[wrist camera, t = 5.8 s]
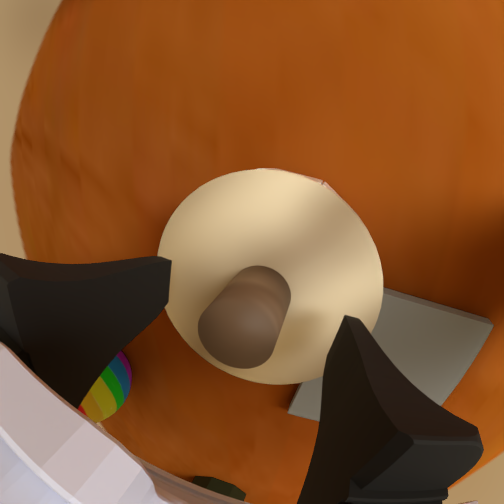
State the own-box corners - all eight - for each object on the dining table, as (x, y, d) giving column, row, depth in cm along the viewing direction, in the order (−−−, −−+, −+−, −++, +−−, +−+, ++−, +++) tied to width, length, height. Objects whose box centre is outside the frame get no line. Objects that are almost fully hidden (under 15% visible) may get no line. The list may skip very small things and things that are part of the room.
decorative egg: (96, 310, 24) (20, 362, 14) (154, 372, 24) (92, 442, 14) (78, 345, 27) (20, 390, 18) (126, 396, 27) (76, 451, 18)
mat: (488, 318, 14) (493, 325, 13) (412, 428, 18) (414, 436, 17) (343, 275, 16) (344, 281, 15) (289, 404, 20) (287, 413, 19)
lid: (425, 262, 11) (462, 306, 7) (291, 401, 15) (276, 458, 11) (224, 125, 12) (174, 109, 8) (141, 300, 16) (93, 335, 12)
